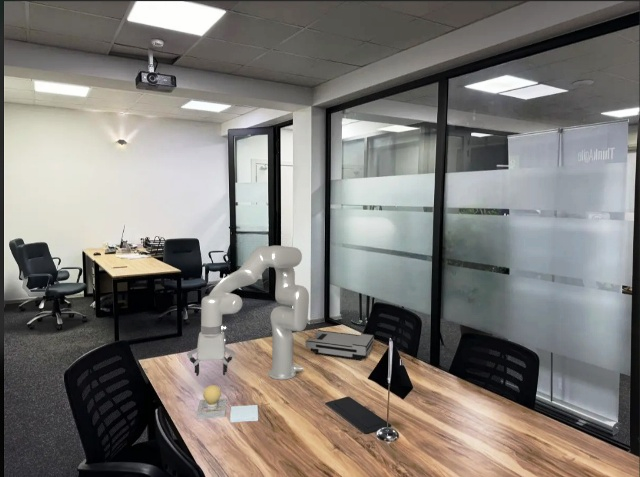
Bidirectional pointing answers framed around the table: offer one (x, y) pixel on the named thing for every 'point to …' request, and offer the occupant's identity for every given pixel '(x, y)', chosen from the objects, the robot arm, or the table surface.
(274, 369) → the robot arm
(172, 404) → the table surface
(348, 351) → the game console
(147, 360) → the table surface
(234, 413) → the pad
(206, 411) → the frame
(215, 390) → the light bulb
